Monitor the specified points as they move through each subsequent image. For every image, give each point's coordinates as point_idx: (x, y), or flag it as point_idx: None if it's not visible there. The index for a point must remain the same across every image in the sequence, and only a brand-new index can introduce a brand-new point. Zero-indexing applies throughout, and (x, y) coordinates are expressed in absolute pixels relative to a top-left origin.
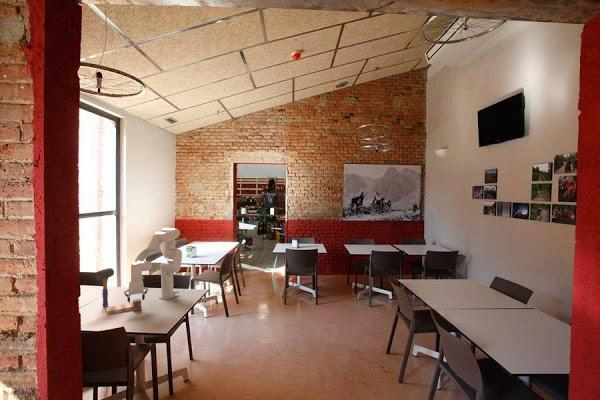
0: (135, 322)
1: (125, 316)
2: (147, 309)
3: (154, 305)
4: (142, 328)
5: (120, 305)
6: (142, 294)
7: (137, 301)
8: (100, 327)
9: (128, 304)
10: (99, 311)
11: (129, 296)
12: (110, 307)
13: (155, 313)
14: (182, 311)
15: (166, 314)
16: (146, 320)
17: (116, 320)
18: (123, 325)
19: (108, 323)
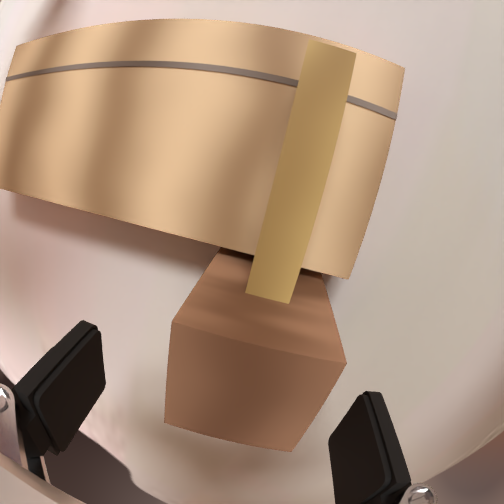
0: (161, 464)
1: (115, 353)
2: (355, 354)
3: (470, 288)
4: (176, 501)
5: (114, 44)
6: (393, 486)
7: (228, 434)
8: (13, 367)
9: (211, 70)
10: (17, 43)
11: (41, 463)
12: (31, 63)
13: (326, 456)
14: (419, 481)
15: None
16: (221, 483)
17: None
18: (102, 442)
19: (31, 359)
